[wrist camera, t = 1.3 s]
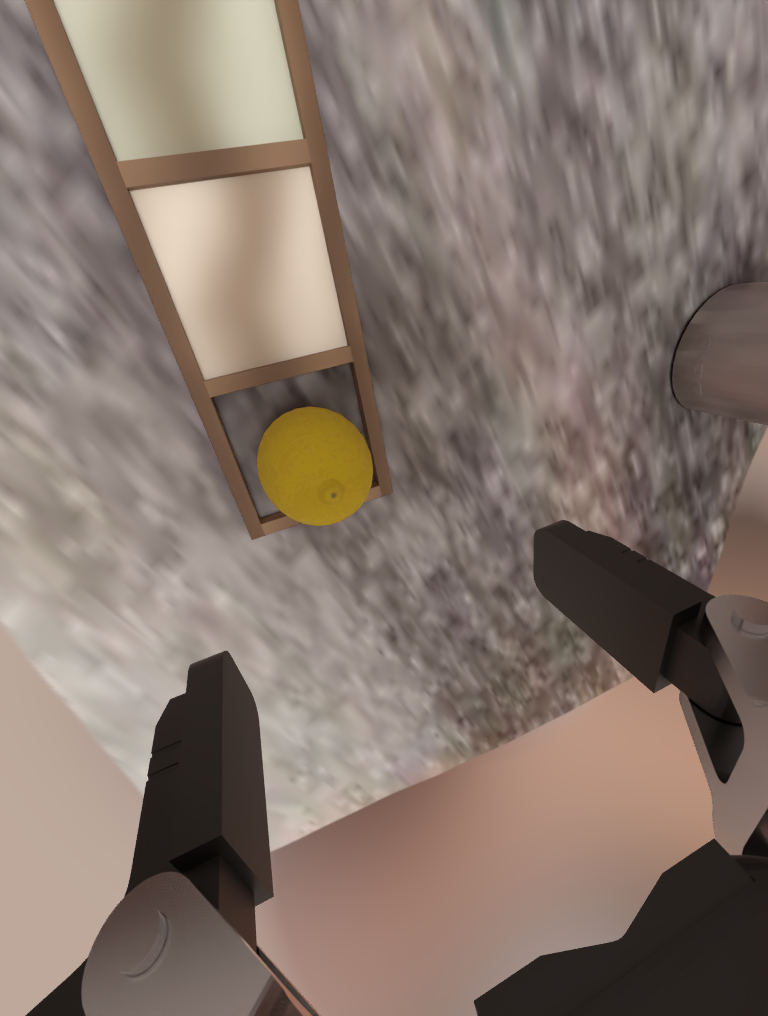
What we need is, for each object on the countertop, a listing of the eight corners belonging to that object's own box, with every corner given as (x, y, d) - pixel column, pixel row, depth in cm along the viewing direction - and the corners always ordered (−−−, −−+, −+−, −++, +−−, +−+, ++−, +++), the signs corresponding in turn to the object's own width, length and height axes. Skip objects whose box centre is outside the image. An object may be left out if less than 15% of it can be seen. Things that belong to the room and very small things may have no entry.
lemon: (306, 503, 25) (335, 574, 18) (231, 447, 22) (232, 506, 15) (366, 439, 24) (419, 486, 17) (298, 372, 21) (331, 398, 15)
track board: (257, -175, 14) (258, -201, 13) (388, 488, 26) (393, 492, 26) (-52, -191, 12) (-70, -223, 11) (251, 533, 24) (251, 540, 24)
